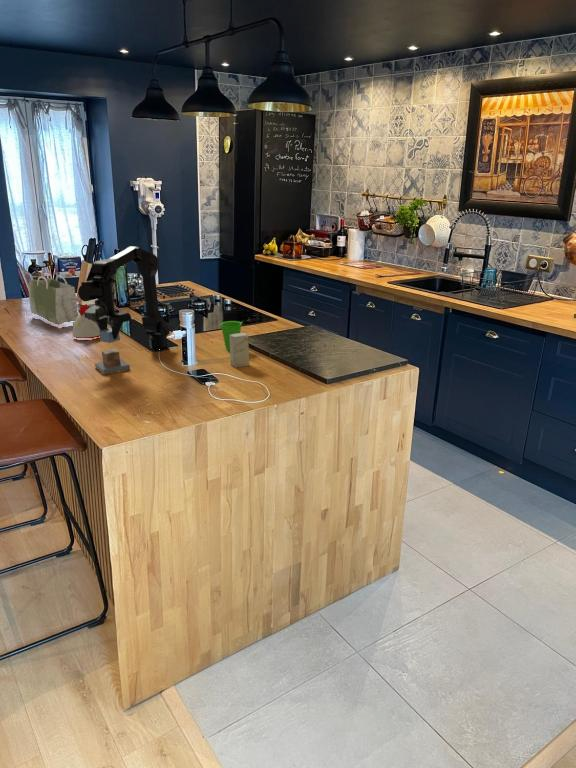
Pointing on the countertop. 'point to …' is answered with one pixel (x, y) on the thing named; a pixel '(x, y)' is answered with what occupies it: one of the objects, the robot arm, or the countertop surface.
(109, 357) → the walnut cube
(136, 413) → the countertop surface
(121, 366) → the slate pad
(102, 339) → the slate block
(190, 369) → the countertop surface
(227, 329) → the cup
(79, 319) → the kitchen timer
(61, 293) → the grocery bag
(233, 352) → the skincare box
